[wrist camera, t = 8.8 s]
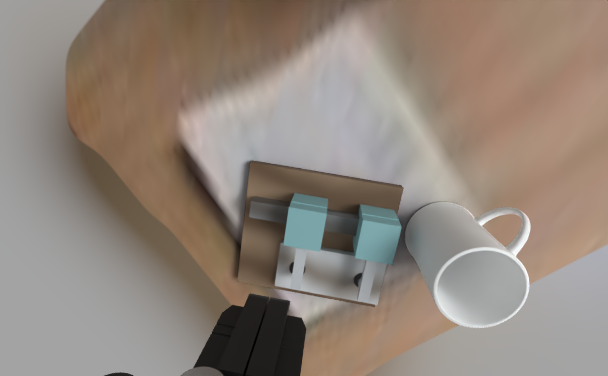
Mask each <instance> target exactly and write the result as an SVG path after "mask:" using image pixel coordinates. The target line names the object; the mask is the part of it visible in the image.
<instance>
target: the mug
mask: <svg viewBox="0 0 608 376" xmlns="http://www.w3.org/2000/svg"><path fill="white" fill-rule="evenodd" d="M505 214H516V215H518V216H520V217H521V220H522V224H521V228H520V231H519V233H518V234H517V236H516V237H515V239H514V240H513V241H512V242H511V243H510V244H508V245H507V246H505V247H504V246H503V245H502V244H501V243H500V242H499V241H498V240H497V239H495V238H494V237H493V236H492V235H491V234H490V233H489V232H488V231H487V230H486V229H484V228H483V227H482V225H483V224H485V223H486V222H487V221H489V220H490V219H492V218H495V217H497V216H500V215H505ZM529 233H530V221H529V219H528V217H527V216H526V215H525V213H523V212H522V211H521V210H519V209H516V208H512V207H502V208H497V209H494V210H491V211H488V212H486V213H484V214H482V215H480V216H478V217H476V218H474V217H473V215H472V214H471V213H470V212H469V211H468V210H467V209H465V208H464V207H462V206H460V205H458V204H455V203H451V202H436V203H432V204H429V205H427V206H424V207H423V208H421V209H420V210H418V211H417V212H416V213H415V214H414V215H413V216H412V217H411V219H410V220H409V222H408V224H407V227H406V230H405V243H406V246H407V249H408V251H409V252H410V254H411V255H412V256H413V257H414V259H415V261H416V263H417V265H418V267H419V269H420V271H421V273H422V276H423V278H424V280H425V282H426V284H427V286H428V288H429V290H430V292H431V295H432V297H433V299H434V301H435V303H436V305H437V307H438V308H439V310H440V311H441V313H442V314H443V315H444V316H445V317H447V318H448V319H449V320H451V321H452V322H454V323H456V324H459V325H462V326H465V327H471V328H485V327H490V326H494V325H497V324H500V323H502V322H504V321H506V320H508V319H509V318H511V317H512V316H513V315H514V314H516V313H517V312H518V311H519V309H520V308H521V307H522V305H523V304H524V302H525V300H526V298H527V295H528V291H529V278H528V274H527V271H526V269H525V267H524V266H523V264H522V263H521V262H520V261H519V260H518V259H517V258H516V255H517V253H518V252H519V251H520V249H521V248H522V247H523V246H524V244H525V242H526V241H527V239H528V236H529Z"/></svg>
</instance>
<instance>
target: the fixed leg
mask: <svg viewBox="0 0 608 376" xmlns="http://www.w3.org/2000/svg"><path fill="white" fill-rule="evenodd" d="M358 213H359V223H358V227H357V232H356V236H353V247H354V254H355V258H357V259H362V260H365V264H364V268H363V273H362V277H361V278H360V279H359V280H358V287H359V291H358V295H357V300H358V301H362V302H368V301H369V297H370V293H371V288H372V284H373V280H374V276H375V271H376V267H377V263H378V262H379V263H385V264H390V265H392V264H393V260H394V256H395V252H396V248H397V244H398V240H399V236H400V232H401V228H402V226H401V224H400V222H399V219H398V217H397V215H396V213H395V211H394V210H391V209H385V208H379V207H374V206H368V205H362V204H360V207H359V212H358Z"/></svg>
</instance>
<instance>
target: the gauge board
mask: <svg viewBox="0 0 608 376" xmlns="http://www.w3.org/2000/svg"><path fill="white" fill-rule="evenodd" d="M402 192H403V187H402V186H401V185H395V184H389V183H383V182H377V181H371V180H365V179H360V178H354V177H348V176H342V175H336V174H330V173H324V172H318V171H312V170H306V169H300V168H294V167H288V166H282V165H276V164H270V163H264V162H258V161H251V162H250V169H249V178H248V188H247V197H246V206H245V215H244V225H243V234H242V243H241V253H240V262H239V271H238V282H243V283H249V284H254V285H259V286H265V287H270V288H275V289H281V290H286V291H292V292H297V293H302V294H308V295H313V296H318V297H324V298H329V299H335V300H340V301H345V302H351V303H356V304H361V305H367V306H372V307H375V305H377V304H378V300H379V295H380V291H381V287H382V283H383V279H384V275H385V271H386V267H387V264H385V263H379V262H378V263H377V267H376V271H375V276H374V280H373V284H372V288H371V293H370V297H369V301H368V302H362V301H358V300H357V295H358V291H359V287H358V280H359V279H360V278H361V277H362V273H363V268H364V264H365V260H362V259H357V258H355V254H354V247H353V236H356V232H357V227H358V223H359V213H358V212H359V207H360V204H362V205H368V206H374V207H379V208H385V209H391V210H394V211H395V213H396V215H397V213H398V209H399V205H400V201H401V196H402ZM294 193H298V194H304V195H310V196H315V197H321V198H327V199H328V207H327V216H326V221H325V227H324V233H323V238H322V244H321V249H320V252H318V251H312V250H307V254H306V260H305V266H304V272H303V278H302V284H301V289H300V290H298V289H293V288H290V285H291V279H292V273H293V266H294V260H295V254H296V247H290V246H285V245H283V244H284V238H285V231H286V224H287V217H288V210H289V206H290V203H291V201H292V198H293V196H294Z"/></svg>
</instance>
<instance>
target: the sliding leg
mask: <svg viewBox="0 0 608 376" xmlns="http://www.w3.org/2000/svg"><path fill="white" fill-rule="evenodd" d="M327 207H328V199H327V198H321V197H315V196H310V195H304V194H298V193H294V196H293V198H292V201H291V203H290V206H289V210H288V217H287V224H286V231H285V238H284V244H283V245H285V246H290V247H296V254H295V260H294V266H293V273H292V279H291V285H290V288H293V289H298V290H300V289H301V284H302V278H303V272H304V266H305V260H306V254H307V250H312V251H318V252H320V249H321V244H322V238H323V233H324V227H325V221H326V216H327Z"/></svg>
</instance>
